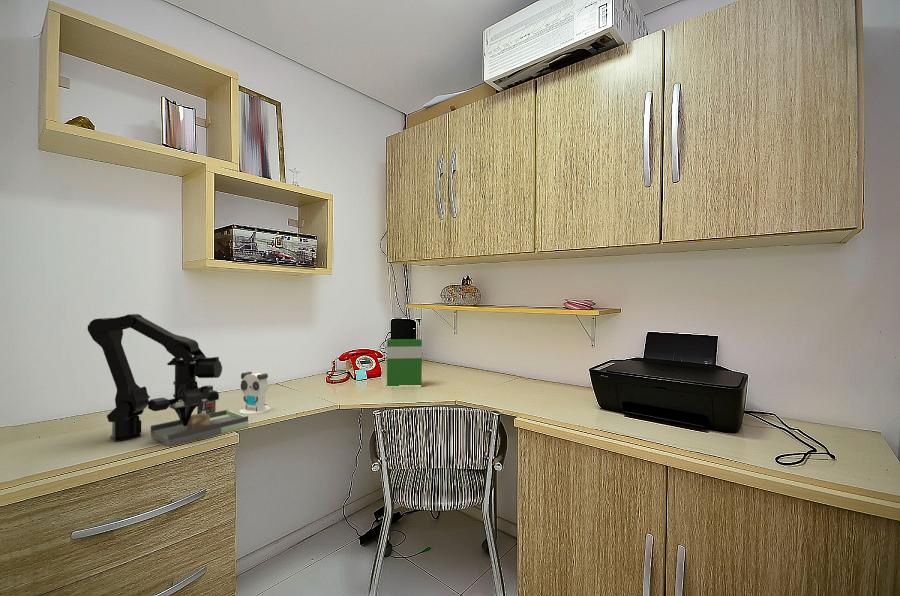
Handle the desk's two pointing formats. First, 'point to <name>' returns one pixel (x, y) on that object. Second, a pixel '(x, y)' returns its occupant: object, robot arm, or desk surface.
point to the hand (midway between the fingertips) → (184, 426)
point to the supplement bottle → (207, 405)
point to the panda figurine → (254, 392)
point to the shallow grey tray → (180, 434)
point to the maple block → (198, 420)
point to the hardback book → (404, 362)
